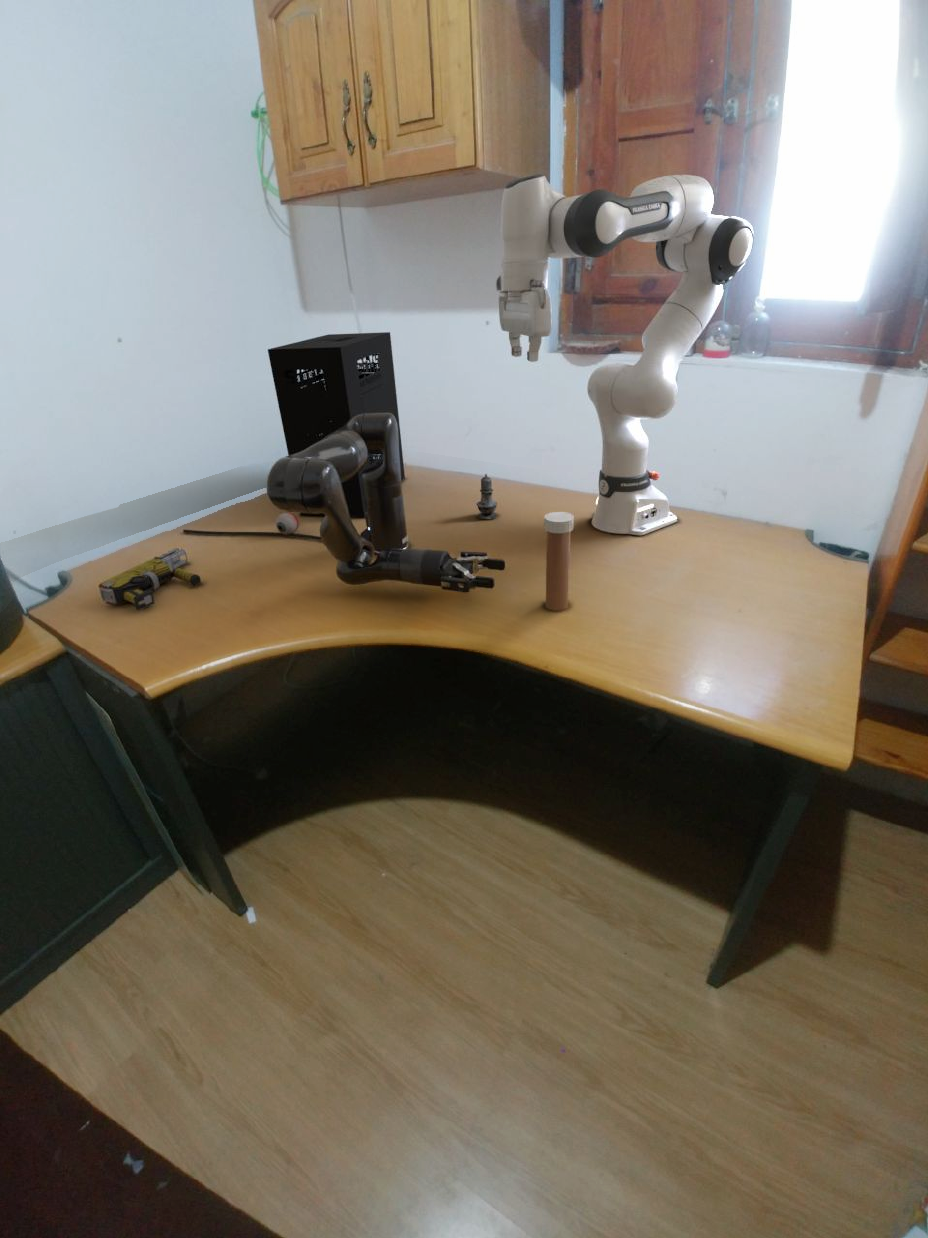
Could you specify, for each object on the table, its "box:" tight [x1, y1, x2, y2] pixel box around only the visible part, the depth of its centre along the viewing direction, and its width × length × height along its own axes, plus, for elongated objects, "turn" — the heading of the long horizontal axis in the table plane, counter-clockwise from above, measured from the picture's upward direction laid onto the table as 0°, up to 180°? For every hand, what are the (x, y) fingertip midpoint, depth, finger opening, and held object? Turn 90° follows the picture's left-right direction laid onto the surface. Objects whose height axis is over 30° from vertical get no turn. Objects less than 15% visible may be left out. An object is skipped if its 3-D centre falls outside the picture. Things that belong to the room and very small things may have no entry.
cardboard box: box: [267, 331, 406, 518], centre depth 180 cm, size 38×20×45 cm, turn 167°
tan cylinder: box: [544, 531, 572, 612], centre depth 118 cm, size 4×4×19 cm
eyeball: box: [275, 511, 300, 534], centre depth 163 cm, size 6×6×6 cm
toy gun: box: [98, 547, 202, 611], centre depth 139 cm, size 5×24×15 cm
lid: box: [543, 511, 575, 533], centre depth 114 cm, size 6×6×2 cm
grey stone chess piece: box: [476, 473, 498, 520], centre depth 166 cm, size 6×6×12 cm
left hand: (499, 573), depth 123 cm, fingers open, 8 cm apart
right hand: (524, 358), depth 122 cm, fingers open, 8 cm apart
